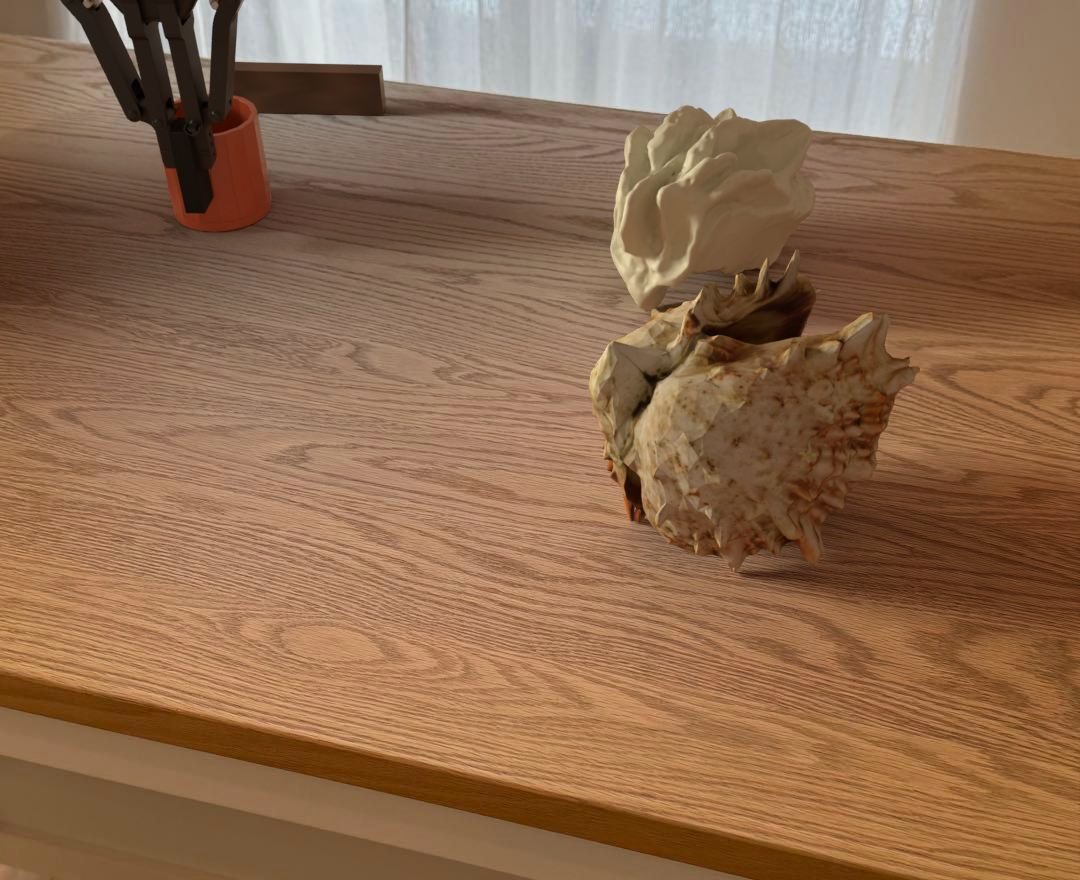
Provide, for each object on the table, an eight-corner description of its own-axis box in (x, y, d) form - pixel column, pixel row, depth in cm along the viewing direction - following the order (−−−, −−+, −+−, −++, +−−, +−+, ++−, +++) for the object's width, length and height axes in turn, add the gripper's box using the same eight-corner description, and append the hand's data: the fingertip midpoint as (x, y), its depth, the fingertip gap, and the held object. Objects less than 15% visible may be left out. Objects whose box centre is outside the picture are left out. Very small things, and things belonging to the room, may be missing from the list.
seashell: (974, 271, 61) (813, 181, 73) (645, 365, 57) (530, 253, 69) (944, 558, 72) (807, 439, 83) (664, 655, 67) (561, 516, 79)
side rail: (234, 112, 116) (227, 70, 114) (239, 103, 118) (232, 61, 115) (383, 115, 116) (379, 73, 113) (386, 106, 117) (382, 64, 114)
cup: (163, 231, 100) (141, 137, 95) (187, 183, 106) (167, 92, 101) (261, 232, 100) (244, 138, 95) (279, 185, 106) (265, 94, 101)
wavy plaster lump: (692, 303, 105) (725, 111, 100) (817, 331, 96) (860, 121, 91) (533, 293, 93) (564, 73, 88) (660, 323, 84) (700, 81, 79)
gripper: (9, -110, 79) (102, 227, 95) (212, -108, 78) (271, 230, 94) (51, -143, 84) (132, 180, 100) (241, -142, 83) (292, 184, 99)
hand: (199, 204), depth 97 cm, fingers closed
